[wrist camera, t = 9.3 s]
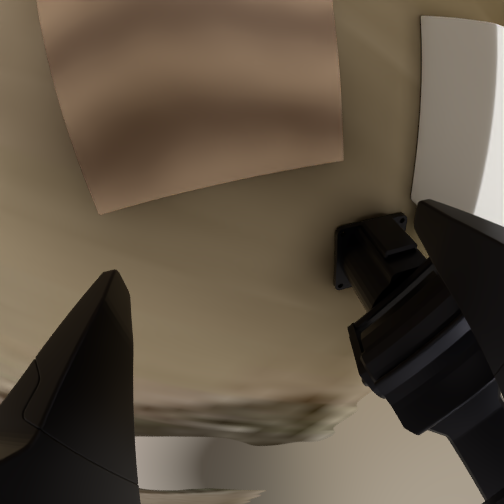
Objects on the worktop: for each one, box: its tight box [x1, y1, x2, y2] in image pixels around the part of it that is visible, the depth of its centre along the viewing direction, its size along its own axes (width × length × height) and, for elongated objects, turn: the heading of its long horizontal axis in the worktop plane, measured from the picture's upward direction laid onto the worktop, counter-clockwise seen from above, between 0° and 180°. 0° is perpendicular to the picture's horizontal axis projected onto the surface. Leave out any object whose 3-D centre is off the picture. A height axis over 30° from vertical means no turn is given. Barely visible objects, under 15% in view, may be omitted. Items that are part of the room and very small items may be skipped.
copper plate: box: [36, 0, 343, 215], centre depth 13 cm, size 20×16×1 cm
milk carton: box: [411, 16, 504, 227], centre depth 18 cm, size 7×7×19 cm
